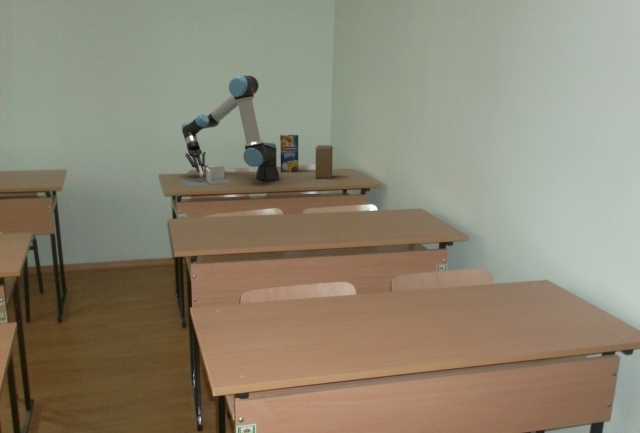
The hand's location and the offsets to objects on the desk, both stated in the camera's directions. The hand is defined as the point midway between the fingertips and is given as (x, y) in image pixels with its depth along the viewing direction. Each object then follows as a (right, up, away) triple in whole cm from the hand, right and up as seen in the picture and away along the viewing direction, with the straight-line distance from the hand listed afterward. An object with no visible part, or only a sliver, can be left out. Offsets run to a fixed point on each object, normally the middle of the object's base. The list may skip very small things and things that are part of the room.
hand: (201, 175), depth 380 cm
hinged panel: (+4, -4, +2) cm, 6 cm away
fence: (+6, -1, +12) cm, 13 cm away
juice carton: (+51, +6, +43) cm, 67 cm away
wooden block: (+74, 0, +22) cm, 78 cm away
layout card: (+1, -4, +5) cm, 7 cm away
